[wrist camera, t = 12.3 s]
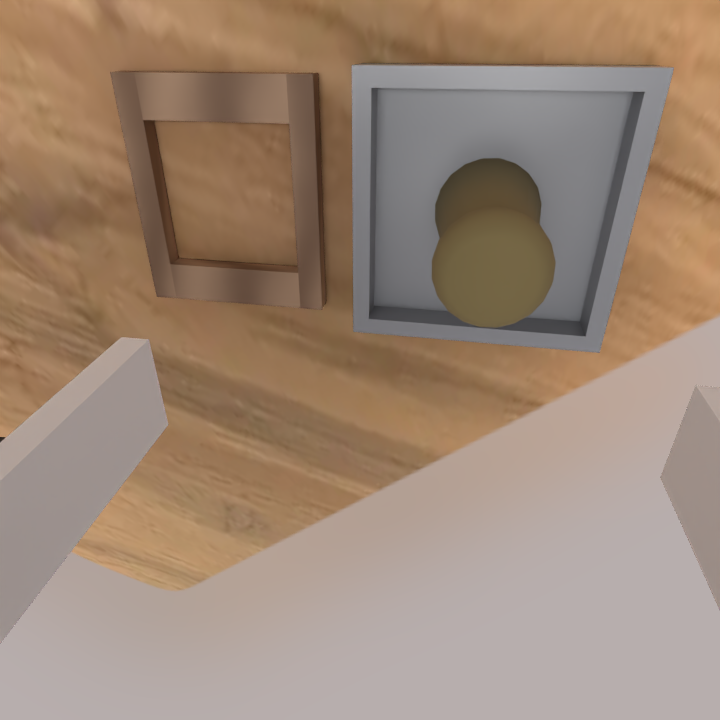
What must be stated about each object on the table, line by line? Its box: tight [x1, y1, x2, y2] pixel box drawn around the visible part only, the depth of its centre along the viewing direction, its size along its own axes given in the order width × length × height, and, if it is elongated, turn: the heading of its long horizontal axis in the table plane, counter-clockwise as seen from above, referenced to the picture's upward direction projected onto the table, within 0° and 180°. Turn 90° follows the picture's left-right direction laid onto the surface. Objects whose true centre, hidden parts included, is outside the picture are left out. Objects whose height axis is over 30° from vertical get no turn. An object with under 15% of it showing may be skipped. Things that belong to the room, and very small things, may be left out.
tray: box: [352, 63, 674, 353], centre depth 31 cm, size 15×15×3 cm
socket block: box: [110, 71, 326, 310], centre depth 34 cm, size 12×14×1 cm
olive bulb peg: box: [432, 158, 556, 328], centre depth 27 cm, size 6×6×11 cm
